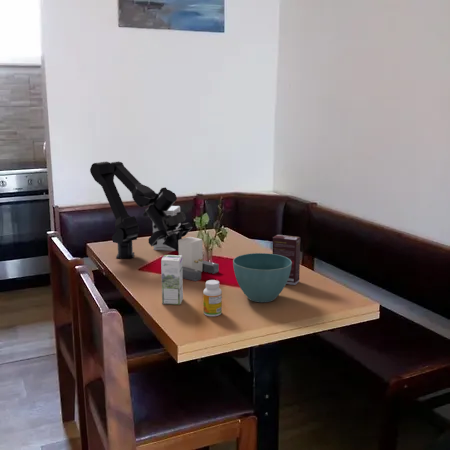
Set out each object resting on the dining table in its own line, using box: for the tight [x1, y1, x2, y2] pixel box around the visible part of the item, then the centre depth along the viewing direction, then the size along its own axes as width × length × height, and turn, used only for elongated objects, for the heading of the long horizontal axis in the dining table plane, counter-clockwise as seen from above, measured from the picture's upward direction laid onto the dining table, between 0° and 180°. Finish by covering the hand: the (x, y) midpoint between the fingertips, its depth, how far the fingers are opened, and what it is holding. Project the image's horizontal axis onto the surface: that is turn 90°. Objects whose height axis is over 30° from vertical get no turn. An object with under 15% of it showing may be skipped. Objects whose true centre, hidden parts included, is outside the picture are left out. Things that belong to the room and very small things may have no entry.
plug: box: [178, 236, 204, 273], centre depth 206 cm, size 7×6×12 cm
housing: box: [183, 260, 220, 282], centre depth 206 cm, size 10×13×3 cm
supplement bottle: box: [202, 279, 223, 317], centre depth 170 cm, size 5×5×10 cm
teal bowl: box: [232, 252, 292, 303], centre depth 182 cm, size 18×18×12 cm
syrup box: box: [160, 254, 184, 306], centre depth 178 cm, size 6×6×14 cm
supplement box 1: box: [152, 205, 182, 252], centre depth 238 cm, size 10×9×17 cm
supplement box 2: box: [272, 234, 301, 286], centre depth 197 cm, size 9×5×16 cm, turn 65°
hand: (183, 252), depth 208 cm, fingers closed, pressing on plug
